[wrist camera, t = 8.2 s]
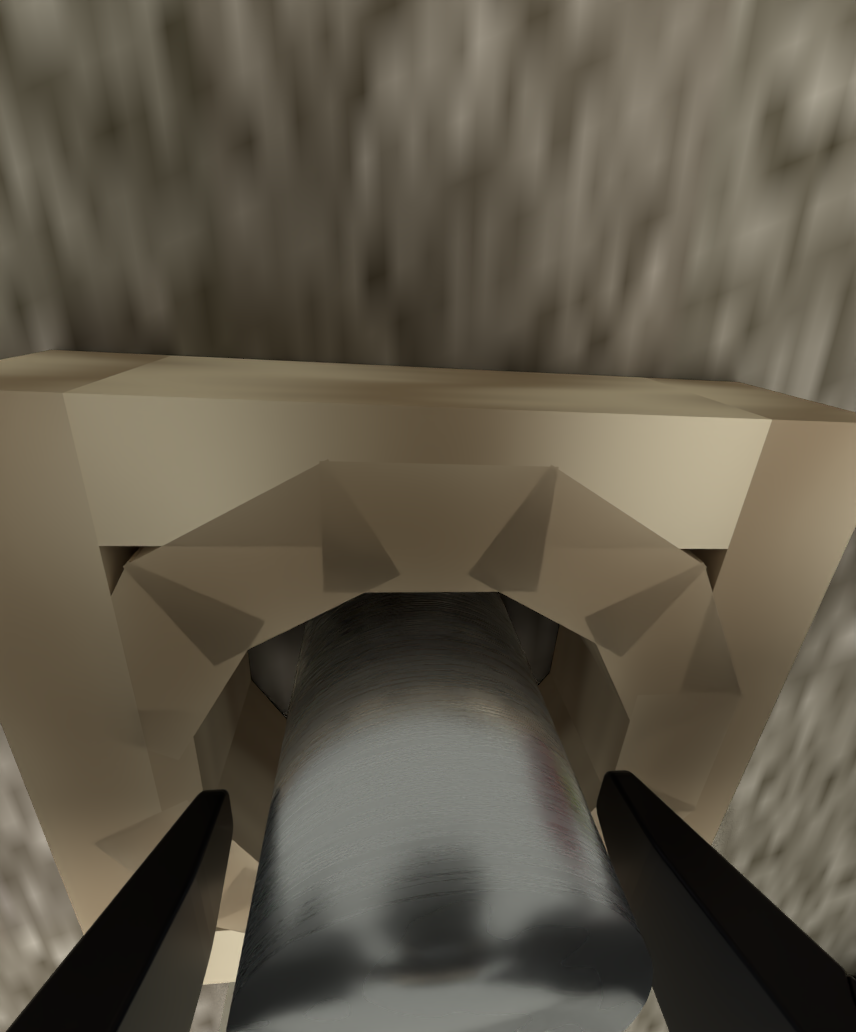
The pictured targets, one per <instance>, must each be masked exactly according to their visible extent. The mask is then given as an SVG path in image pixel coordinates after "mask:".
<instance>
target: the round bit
mask: <svg viewBox="0 0 856 1032" xmlns="http://www.w3.org/2000/svg"><path fill="white" fill-rule="evenodd" d="M652 980H653V966H652V960H651V957H650V954H649V952H648V949H647V947H646V945H645V942H644V940H643V937H642V935H641V933H640V930H639V928H638V925H637V923H636V921H635V918H634V916H633V913H632V911H631V909H630V906H629V904H628V901H627V899H626V897H625V894H624V892H623V889H622V887H621V884H620V882H619V880H618V877H617V875H616V872H615V870H614V868H613V865H612V863H611V860H610V858H609V856H608V853H607V851H606V848H605V846H604V844H603V841H602V839H601V836H600V834H599V832H598V829H597V827H596V824H595V822H594V820H593V817H592V815H591V812H590V810H589V808H588V805H587V803H586V800H585V798H584V796H583V793H582V791H581V788H580V786H579V784H578V781H577V779H576V776H575V774H574V772H573V769H572V767H571V764H570V762H569V760H568V757H567V755H566V752H565V750H564V747H563V745H562V743H561V740H560V738H559V735H558V733H557V731H556V728H555V726H554V723H553V721H552V719H551V716H550V714H549V711H548V709H547V707H546V704H545V702H544V699H543V697H542V695H541V692H540V690H539V687H538V685H537V683H536V680H535V678H534V675H533V673H532V671H531V668H530V666H529V663H528V661H527V659H526V656H525V654H524V651H523V649H522V647H521V644H520V642H519V639H518V637H517V635H516V632H515V630H514V627H513V625H512V623H511V620H510V618H509V615H508V613H507V610H506V608H505V606H504V603H503V601H502V599H501V597H500V596H499V594H498V593H497V592H366V593H363V594H361V595H359V596H357V597H355V598H352V599H350V600H348V601H346V602H344V603H342V604H340V605H338V606H336V607H334V608H332V609H330V610H328V611H326V612H324V613H322V614H320V615H318V616H316V617H314V618H312V619H310V620H308V621H306V626H305V631H304V636H303V641H302V646H301V651H300V656H299V661H298V666H297V671H296V676H295V682H294V687H293V692H292V697H291V702H290V707H289V712H288V717H287V722H286V727H285V732H284V737H283V743H282V748H281V753H280V758H279V763H278V768H277V773H276V778H275V783H274V788H273V793H272V799H271V804H270V809H269V814H268V819H267V824H266V829H265V834H264V839H263V844H262V849H261V854H260V860H259V865H258V870H257V875H256V880H255V885H254V890H253V895H252V900H251V905H250V910H249V916H248V921H247V926H246V931H245V936H244V941H243V946H242V951H241V956H240V961H239V966H238V972H237V977H236V982H235V987H234V992H233V997H232V1002H231V1007H230V1012H229V1017H228V1022H227V1027H226V1032H623V1031H624V1030H625V1029H627V1028H628V1027H629V1025H630V1024H631V1023H632V1022H633V1020H634V1019H635V1018H636V1017H637V1015H638V1014H639V1013H640V1011H641V1009H642V1008H643V1006H644V1004H645V1002H646V1001H647V998H648V996H649V993H650V990H651V987H652Z"/></svg>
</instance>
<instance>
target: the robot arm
mask: <svg viewBox="0 0 856 1032" xmlns="http://www.w3.org/2000/svg"><path fill="white" fill-rule="evenodd" d="M596 810H597V816H598V820H599V823H600V827H601V830H602V834H603V838H604V841H605V845H606V848H607V852H608V856H609V858H610V860H611V863H612V865H613V868H614V870H615V872H616V875H617V877H618V880H619V882H620V884H621V887H622V889H623V892H624V894H625V897H626V899H627V901H628V904H629V906H630V909H631V911H632V913H633V916H634V918H635V921H636V923H637V925H638V928H639V930H640V933H641V935H642V937H643V940H644V942H645V945H646V947H647V949H648V952H649V954H650V957H651V960H652V966H653V980H652V987H653V990H654V992H655V995H656V998H657V1000H658V1003H659V1006H660V1008H661V1011H662V1014H663V1016H664V1019H665V1021H666V1024H667V1027H668V1029H669V1032H856V979H855V978H853V977H852V976H851V975H847V974H846V971H845V970H844V969H843V968H842V967H841V966H840V965H839V964H838V963H837V962H836V961H835V960H834V959H833V958H832V957H831V956H829V955H828V954H827V953H826V952H825V951H824V950H823V949H822V948H821V947H820V946H819V945H818V944H816V943H815V942H814V941H813V940H812V939H811V938H810V937H809V936H808V935H807V934H806V933H805V932H804V931H802V930H801V929H800V928H799V927H798V926H797V925H796V924H795V923H794V922H793V921H792V920H791V919H790V918H788V917H787V916H786V915H785V914H784V913H783V912H782V911H781V910H780V909H779V908H778V907H777V906H775V905H774V904H773V903H772V902H771V901H770V900H769V899H768V898H767V897H766V896H765V895H764V894H763V893H761V892H760V891H759V890H758V889H757V888H756V887H755V886H754V885H753V884H752V883H751V882H750V881H749V880H747V879H746V878H745V877H744V876H743V875H742V874H741V873H740V872H739V871H738V870H737V869H736V868H735V867H733V866H732V865H731V864H730V863H729V862H728V861H727V860H726V859H725V858H724V857H723V856H722V855H720V854H719V853H718V852H717V851H716V850H715V849H714V848H713V847H712V846H711V845H710V844H709V843H708V842H706V841H705V840H704V839H703V838H702V837H701V836H700V835H699V834H698V833H697V832H696V831H695V830H694V829H692V828H691V827H690V826H689V825H688V824H687V823H686V822H685V821H684V820H683V819H682V818H681V817H679V816H678V815H677V814H676V813H675V812H674V811H673V810H672V809H671V808H670V807H669V806H668V805H667V804H665V803H664V802H663V801H662V800H661V799H660V798H659V797H658V796H657V795H656V794H655V793H654V792H653V791H651V790H650V789H649V788H648V787H647V786H646V785H645V784H644V783H643V782H642V781H641V780H640V779H639V778H637V777H636V776H635V775H634V774H633V773H631V772H630V771H627V770H615V771H607V772H606V773H605V775H604V777H603V781H602V784H601V788H600V791H599V794H598V798H597V802H596ZM232 836H233V817H232V810H231V803H230V797H229V793H228V791H227V790H226V789H214V790H204V791H202V792H200V793H199V794H198V795H197V796H196V797H195V798H194V800H193V801H192V802H191V803H190V805H189V806H188V807H187V808H186V810H185V811H184V812H183V813H182V815H181V816H180V817H179V818H178V819H177V821H176V822H175V823H174V824H173V826H172V827H171V828H170V829H169V831H168V832H167V833H166V834H165V836H164V837H163V838H162V839H161V841H160V842H159V843H158V844H157V845H156V847H155V848H154V849H153V850H152V852H151V853H150V854H149V855H148V857H147V858H146V859H145V860H144V862H143V863H142V864H141V865H140V866H139V868H138V869H137V870H136V871H135V873H134V874H133V875H132V876H131V878H130V879H129V880H128V881H127V883H126V884H125V885H124V886H123V887H122V889H121V890H120V891H119V892H118V894H117V895H116V896H115V897H114V899H113V900H112V901H111V902H110V904H109V905H108V906H107V907H106V908H105V910H104V911H103V912H102V913H101V915H100V916H99V917H98V918H97V920H96V921H95V922H94V923H93V925H92V926H91V927H90V928H89V930H88V931H87V932H86V933H85V934H84V936H83V937H82V938H81V939H80V941H79V942H78V943H77V944H76V946H75V947H74V948H73V949H72V951H71V952H70V953H69V954H68V955H67V957H66V958H65V959H64V960H63V962H62V963H61V964H60V965H59V967H58V968H57V969H56V970H55V972H54V973H53V974H52V975H51V976H50V978H49V979H48V980H47V981H46V983H45V984H44V985H43V986H42V988H41V989H40V990H39V991H38V993H37V994H36V995H35V996H34V997H33V999H32V1000H31V1001H30V1002H29V1004H28V1005H27V1006H26V1007H25V1009H24V1010H23V1011H22V1012H21V1014H20V1015H19V1016H18V1017H17V1018H16V1020H15V1021H14V1022H13V1023H12V1025H11V1026H10V1027H9V1028H8V1030H7V1031H6V1032H189V1031H190V1028H191V1024H192V1021H193V1017H194V1013H195V1010H196V1006H197V1003H198V999H199V995H200V992H201V988H202V985H203V981H204V977H205V974H206V970H207V966H208V962H209V959H210V955H211V951H212V946H213V941H214V936H215V931H216V926H217V920H218V915H219V909H220V903H221V898H222V892H223V887H224V881H225V875H226V870H227V864H228V859H229V853H230V847H231V842H232Z"/></svg>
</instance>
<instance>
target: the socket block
mask: <svg viewBox="0 0 856 1032" xmlns="http://www.w3.org/2000/svg"><path fill="white" fill-rule="evenodd" d="M855 526H856V413H855V412H852V411H848V410H844V409H840V408H836V407H832V406H828V405H825V404H821V403H817V402H813V401H809V400H805V399H802V398H798V397H794V396H790V395H786V394H782V393H778V392H775V391H771V390H767V389H763V388H759V387H755V386H752V385H748V384H744V383H740V382H727V381H706V380H685V379H663V378H642V377H621V376H599V375H578V374H557V373H535V372H514V371H492V370H471V369H450V368H428V367H407V366H386V365H364V364H343V363H322V362H300V361H279V360H257V359H236V358H215V357H193V356H172V355H151V354H129V353H108V352H87V351H65V350H48V351H43V352H38V353H32V354H27V355H22V356H17V357H12V358H7V359H2V360H0V722H1V725H2V727H3V730H4V733H5V735H6V738H7V740H8V743H9V745H10V748H11V750H12V753H13V756H14V758H15V761H16V763H17V766H18V768H19V771H20V773H21V776H22V778H23V781H24V784H25V786H26V789H27V791H28V794H29V796H30V799H31V801H32V804H33V807H34V809H35V812H36V814H37V817H38V819H39V822H40V824H41V827H42V830H43V832H44V835H45V837H46V840H47V842H48V845H49V847H50V850H51V853H52V855H53V858H54V860H55V863H56V865H57V868H58V870H59V873H60V875H61V878H62V881H63V883H64V886H65V888H66V891H67V893H68V896H69V898H70V901H71V904H72V906H73V909H74V911H75V914H76V916H77V919H78V921H79V924H80V927H81V929H82V932H83V934H85V933H86V932H87V931H88V930H89V928H90V927H91V926H92V925H93V923H94V922H95V921H96V920H97V918H98V917H99V916H100V915H101V913H102V912H103V911H104V910H105V908H106V907H107V906H108V905H109V904H110V902H111V901H112V900H113V899H114V897H115V896H116V895H117V894H118V892H119V891H120V890H121V889H122V887H123V886H124V885H125V884H126V883H127V881H128V880H129V879H130V878H131V876H132V875H133V874H134V873H135V871H136V870H137V869H138V868H139V866H140V865H141V864H142V863H143V862H144V860H145V859H146V858H147V857H148V855H149V854H150V853H151V852H152V850H153V849H154V848H155V847H156V845H157V844H158V843H159V842H160V841H161V839H162V838H163V837H164V836H165V834H166V833H167V832H168V831H169V829H170V828H171V827H172V826H173V824H174V823H175V822H176V821H177V819H178V818H179V817H180V816H181V815H182V813H183V812H184V811H185V810H186V808H187V807H188V806H189V805H190V803H191V802H192V801H193V800H194V798H195V797H196V796H197V795H198V794H199V793H200V792H202V791H204V790H214V789H226V790H227V791H228V793H229V797H230V803H231V810H232V817H233V836H232V842H231V847H230V853H229V859H228V864H227V870H226V875H225V881H224V887H223V892H222V898H221V903H220V909H219V915H218V920H217V926H216V931H215V936H214V941H213V946H212V951H211V955H210V959H209V962H208V966H207V970H206V974H205V977H204V981H203V985H205V984H215V983H226V982H236V977H237V972H238V966H239V961H240V956H241V951H242V946H243V941H244V936H245V931H246V926H247V921H248V916H249V910H250V905H251V900H252V895H253V890H254V885H255V880H256V875H257V870H258V865H259V860H260V854H261V849H262V844H263V839H264V834H265V829H266V824H267V819H268V814H269V809H270V804H271V799H272V793H273V788H274V783H275V778H276V773H277V768H278V763H279V758H280V753H281V748H282V743H283V737H284V732H285V727H286V722H287V719H286V718H285V717H284V716H283V715H282V714H281V713H280V712H279V710H278V709H277V708H276V707H275V706H274V705H273V704H272V703H271V702H270V700H269V699H268V698H267V697H266V696H265V695H264V694H263V693H262V692H261V690H260V689H259V688H258V687H257V686H256V685H255V684H254V683H253V681H252V680H251V675H250V666H249V656H248V649H250V648H252V647H254V646H256V645H258V644H261V643H263V642H265V641H267V640H269V639H271V638H273V637H275V636H277V635H279V634H281V633H283V632H285V631H287V630H289V629H291V628H293V627H295V626H297V625H299V624H301V623H303V622H305V621H308V620H310V619H312V618H314V617H316V616H318V615H320V614H322V613H324V612H326V611H328V610H330V609H332V608H334V607H336V606H338V605H340V604H342V603H344V602H346V601H348V600H350V599H352V598H355V597H357V596H359V595H361V594H363V593H366V592H500V593H502V594H504V595H506V596H508V597H510V598H512V599H513V600H515V601H517V602H519V603H521V604H523V605H525V606H527V607H528V608H530V609H532V610H534V611H536V612H538V613H540V614H542V615H543V616H545V617H547V618H549V619H551V620H553V621H555V622H557V623H558V624H560V626H559V631H558V635H557V640H556V645H555V650H554V655H553V660H552V665H551V670H550V673H549V674H548V675H547V676H546V677H545V679H544V680H543V681H542V682H541V683H540V684H539V685H538V687H539V690H540V692H541V695H542V697H543V699H544V702H545V704H546V707H547V709H548V711H549V714H550V716H551V719H552V721H553V723H554V726H555V728H556V731H557V733H558V735H559V738H560V740H561V743H562V745H563V747H564V750H565V752H566V755H567V757H568V760H569V762H570V764H571V767H572V769H573V772H574V774H575V776H576V779H577V781H578V784H579V786H580V788H581V791H582V793H583V796H584V798H585V800H586V803H587V805H588V808H589V810H590V812H591V815H592V817H593V820H594V822H595V824H596V827H597V829H598V832H599V834H600V836H601V839H602V841H603V844H604V846H605V848H606V845H605V841H604V838H603V834H602V830H601V827H600V823H599V820H598V816H597V810H596V802H597V798H598V794H599V791H600V788H601V784H602V781H603V777H604V775H605V773H606V772H607V771H615V770H627V771H630V772H631V773H633V774H634V775H635V776H636V777H637V778H639V779H640V780H641V781H642V782H643V783H644V784H645V785H646V786H647V787H648V788H649V789H650V790H651V791H653V792H654V793H655V794H656V795H657V796H658V797H659V798H660V799H661V800H662V801H663V802H664V803H665V804H667V805H668V806H669V807H670V808H671V809H672V810H673V811H674V812H675V813H676V814H677V815H678V816H679V817H681V818H682V819H683V820H684V821H685V822H686V823H687V824H688V825H689V826H690V827H691V828H692V829H694V830H695V831H696V832H697V833H698V834H699V835H700V836H701V837H702V838H703V839H704V840H705V841H706V842H708V843H709V844H710V845H711V844H712V842H713V840H714V838H715V836H716V833H717V831H718V829H719V827H720V825H721V822H722V820H723V818H724V816H725V814H726V811H727V809H728V807H729V805H730V802H731V800H732V798H733V796H734V794H735V791H736V789H737V787H738V785H739V783H740V780H741V778H742V776H743V774H744V772H745V769H746V767H747V765H748V763H749V761H750V758H751V756H752V754H753V752H754V749H755V747H756V745H757V743H758V741H759V738H760V736H761V734H762V732H763V730H764V727H765V725H766V723H767V721H768V719H769V716H770V714H771V712H772V710H773V707H774V705H775V703H776V701H777V699H778V696H779V694H780V692H781V690H782V688H783V685H784V683H785V681H786V679H787V677H788V674H789V672H790V670H791V668H792V666H793V663H794V661H795V659H796V657H797V654H798V652H799V650H800V648H801V646H802V643H803V641H804V639H805V637H806V635H807V632H808V630H809V628H810V626H811V624H812V621H813V619H814V617H815V615H816V613H817V610H818V608H819V606H820V604H821V601H822V599H823V597H824V595H825V593H826V590H827V588H828V586H829V584H830V582H831V579H832V577H833V575H834V573H835V571H836V568H837V566H838V564H839V562H840V560H841V557H842V555H843V553H844V551H845V548H846V546H847V544H848V542H849V540H850V537H851V535H852V533H853V531H854V529H855ZM606 851H607V848H606ZM607 853H608V852H607Z"/></svg>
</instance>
